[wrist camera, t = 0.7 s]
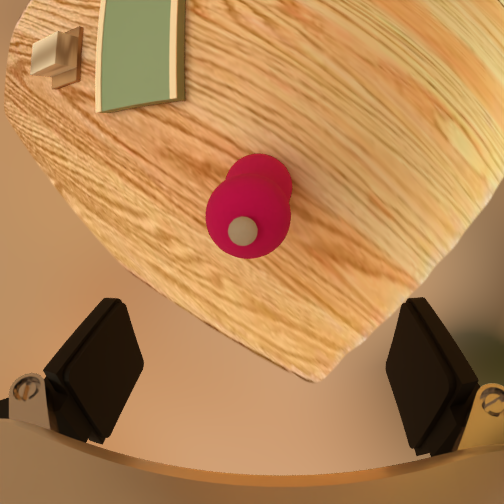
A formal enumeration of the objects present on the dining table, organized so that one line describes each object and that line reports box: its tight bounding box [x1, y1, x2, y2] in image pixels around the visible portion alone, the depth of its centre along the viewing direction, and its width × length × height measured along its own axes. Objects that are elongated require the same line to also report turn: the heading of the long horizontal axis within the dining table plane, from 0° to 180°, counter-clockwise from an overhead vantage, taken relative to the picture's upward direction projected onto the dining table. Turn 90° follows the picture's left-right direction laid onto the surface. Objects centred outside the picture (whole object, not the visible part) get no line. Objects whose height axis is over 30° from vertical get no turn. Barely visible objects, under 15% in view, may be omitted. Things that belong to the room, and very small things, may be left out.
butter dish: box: [30, 26, 83, 89], centre depth 27 cm, size 9×5×6 cm, turn 1°
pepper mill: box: [206, 154, 292, 259], centre depth 26 cm, size 7×7×20 cm
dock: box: [95, 0, 186, 113], centre depth 28 cm, size 17×11×3 cm, turn 1°
